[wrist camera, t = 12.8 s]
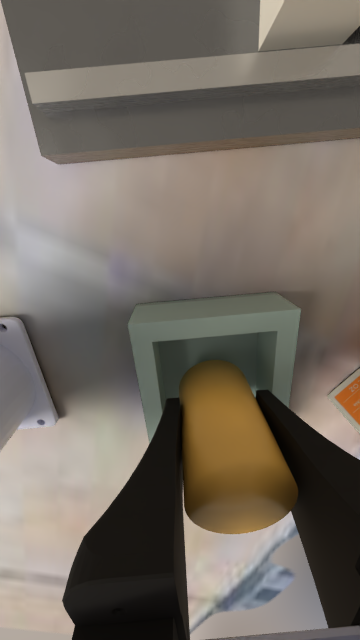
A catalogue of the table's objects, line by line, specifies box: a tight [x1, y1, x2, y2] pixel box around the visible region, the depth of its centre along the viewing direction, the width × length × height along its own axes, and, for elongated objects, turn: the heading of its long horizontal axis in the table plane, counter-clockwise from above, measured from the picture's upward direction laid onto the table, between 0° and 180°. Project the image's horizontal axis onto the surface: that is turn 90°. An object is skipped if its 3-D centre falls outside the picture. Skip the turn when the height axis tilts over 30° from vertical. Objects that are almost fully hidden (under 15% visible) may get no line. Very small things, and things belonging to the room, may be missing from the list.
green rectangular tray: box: [128, 292, 301, 443], centre depth 14 cm, size 8×10×3 cm
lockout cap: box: [179, 360, 298, 534], centre depth 11 cm, size 4×4×6 cm
